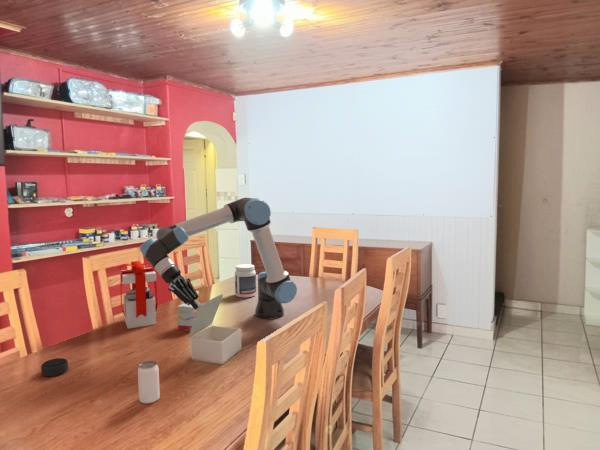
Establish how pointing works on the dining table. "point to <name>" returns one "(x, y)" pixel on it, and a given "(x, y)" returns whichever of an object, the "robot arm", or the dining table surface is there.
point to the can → (148, 382)
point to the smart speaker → (54, 367)
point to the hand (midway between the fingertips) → (203, 313)
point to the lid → (205, 315)
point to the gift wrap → (138, 295)
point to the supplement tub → (245, 281)
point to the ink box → (186, 317)
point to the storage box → (216, 344)
